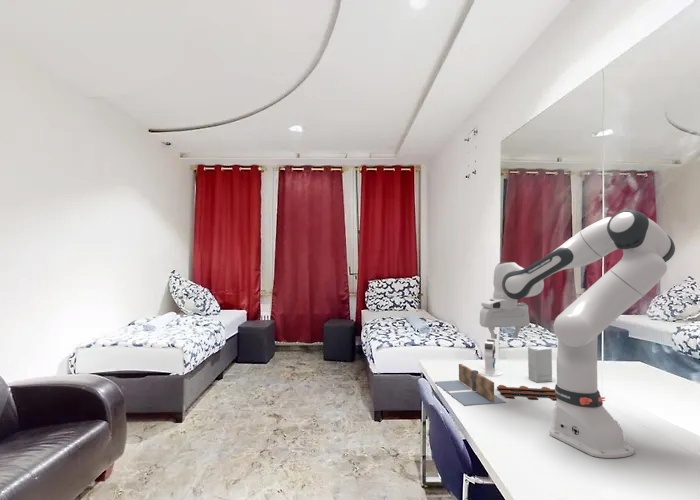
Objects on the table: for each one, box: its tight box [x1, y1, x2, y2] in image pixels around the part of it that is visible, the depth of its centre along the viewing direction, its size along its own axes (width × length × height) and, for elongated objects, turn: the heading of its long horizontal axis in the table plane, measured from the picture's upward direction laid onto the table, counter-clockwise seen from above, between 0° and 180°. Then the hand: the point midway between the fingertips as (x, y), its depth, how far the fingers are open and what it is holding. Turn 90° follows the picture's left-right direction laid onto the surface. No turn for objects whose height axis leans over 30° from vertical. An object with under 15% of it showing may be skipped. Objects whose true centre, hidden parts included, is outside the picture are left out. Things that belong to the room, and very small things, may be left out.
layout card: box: [434, 379, 507, 407], centre depth 160 cm, size 28×17×1 cm, turn 10°
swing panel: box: [476, 373, 495, 401], centre depth 154 cm, size 12×1×7 cm, turn 10°
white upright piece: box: [477, 339, 503, 377], centre depth 187 cm, size 12×11×15 cm
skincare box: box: [527, 345, 553, 383], centre depth 175 cm, size 8×6×15 cm
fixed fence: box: [458, 363, 479, 391], centre depth 167 cm, size 15×2×8 cm, turn 10°
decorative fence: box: [496, 384, 557, 402], centre depth 159 cm, size 23×2×15 cm
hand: (504, 338), depth 153 cm, fingers open, 8 cm apart
